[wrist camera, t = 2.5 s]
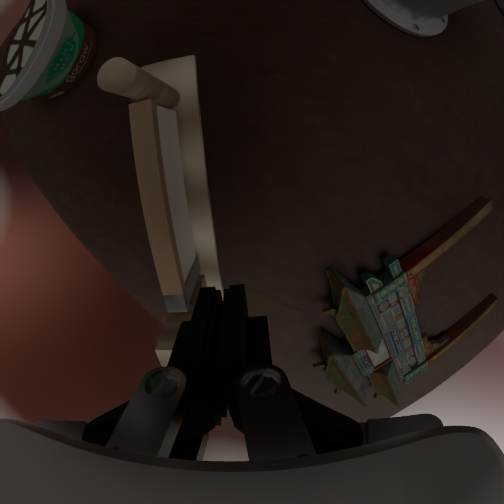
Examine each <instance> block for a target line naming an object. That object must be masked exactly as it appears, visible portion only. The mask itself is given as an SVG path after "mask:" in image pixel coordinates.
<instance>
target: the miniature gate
mask: <svg viewBox="0 0 504 504" xmlns="http://www.w3.org/2000/svg"><path fill="white" fill-rule="evenodd" d="M491 210H492V204H491V200H489V199H486V198H483V197H482V198H481V199H479V200H478V201H477V202H476V203H474V204H473V205H472V206H471V207H469V208H468V209H467V210H465V211H464V212H463V213H462V214H460V215H459V216H458V217H456V218H455V219H454V220H452V221H451V222H450V223H448V224H447V225H446V226H445V227H443V228H442V229H441V230H440V231H438V232H437V233H436V234H435V235H433V236H432V237H431V238H430V239H428V240H427V241H426V242H424V243H423V244H422V245H421V246H419V247H418V248H417V249H415V250H414V251H413V252H411V253H410V254H409V255H407V256H406V257H404V258H403V259H402V260H400V261H398V259H397V258H396V257H394V256H393V255H391V254H390V255H389V256H388V257H386V258H385V259H383V262H384V265H385V267H386V271H385V272H384V273H382V274H381V275H379V276H378V277H376V276H375V275H373V274H371V273H369V272H367V271H366V272H364V273H363V274H361V275H360V276H361V278H362V280H363V282H364V286H365V288H364V289H362V288H361V289H360V290H359V289H358V288H357V287H355V286H354V285H353V284H352V283H350V282H349V281H348V280H347V279H345V278H344V277H343V276H342V275H340V274H339V273H338V272H336V271H335V270H334V269H333V268H331V267H330V266H329V267H328V269H329V270H327V271H326V273H327V276H328V279H329V283H330V286H331V290H332V297H333V306H330V307H327V308H324V309H322V310H323V312H324V314H331V315H333V316H334V317H335V319H336V321H337V322H338V324H339V326H340V327H341V329H342V331H343V333H344V334H345V336H346V338H347V340H348V341H349V343H350V345H351V346H350V347H349V346H347V347H348V348H347V347H346V346H344V345H343V344H342V343H340V342H339V341H338V340H336V339H335V338H334V337H332V336H331V335H330V334H328V333H327V332H326V331H324V330H323V329H322V328H321V327H320V326H319V327H317V328H316V329H317V332H318V336H319V339H320V343H321V347H322V354H323V362H318V363H315V364H313V367H314V369H322V370H323V371H324V372H325V374H326V375H327V376H328V378H329V379H330V380H331V382H332V383H333V384H334V386H335V387H336V389H335V390H334V393H335V395H337V394H338V393H339V392H341V391H344V392H346V393H347V394H349V395H351V396H352V397H353V398H354V399H356V400H357V401H358V402H359V403H360V404H361V405H362V406H363V407H364V406H366V404H365V384H364V378H366V376H368V377H369V379H370V381H371V383H372V385H373V387H374V388H375V390H376V392H375V394H374V395H373V397H374V399H376V398H377V397H378V396H380V395H383V396H384V397H386V398H388V399H389V400H390V401H391V402H392V403H393V404H394V405H395V406H397V408H400V407H401V406H400V382H401V383H402V381H404V383H405V384H408V383H409V382H410V381H411V379H412V377H413V376H414V375H415V374H417V373H418V372H420V373H421V374H422V373H424V372H425V371H426V370H427V366H428V365H429V364H431V363H432V362H433V361H435V360H436V359H437V358H438V357H440V356H441V355H442V354H443V353H445V352H446V351H447V350H448V349H450V348H451V347H452V346H453V345H454V344H456V343H457V342H458V341H459V340H460V339H461V338H462V337H464V336H465V335H466V334H467V333H468V332H469V331H470V330H471V329H472V328H473V327H475V326H476V325H477V324H478V323H479V322H480V321H481V320H482V319H483V318H484V317H485V316H486V315H487V314H488V313H489V312H490V311H491V310H492V309H493V308H494V307H495V306H496V305H497V303H498V298H497V297H496V296H495V295H493V294H492V293H491V294H490V295H489V296H488V297H487V298H486V299H484V300H483V301H482V302H481V303H480V304H479V305H477V306H476V307H475V308H474V309H473V310H472V311H470V312H469V313H468V314H467V315H465V316H464V317H463V318H462V319H461V320H460V321H458V322H457V323H456V324H455V325H454V326H453V327H451V328H450V329H449V330H448V331H447V332H446V333H444V334H443V335H442V336H441V337H439V338H438V339H437V340H431V341H429V340H428V339H427V337H428V335H427V334H426V333H425V332H424V333H422V334H421V331H420V327H419V323H418V319H417V315H416V312H415V307H416V306H417V305H418V304H419V303H420V301H419V300H418V299H417V298H416V296H417V293H418V290H419V287H418V284H419V283H420V282H421V281H422V280H423V278H422V276H423V275H424V274H425V270H424V269H426V268H427V267H428V266H429V265H431V264H432V263H433V262H434V261H436V260H437V259H438V258H439V257H440V256H442V255H443V254H444V253H445V252H446V251H448V250H449V249H450V248H451V247H452V246H454V245H455V244H456V243H457V242H458V241H459V240H460V239H462V238H463V237H464V236H465V235H466V234H467V233H468V232H469V231H470V230H471V229H473V228H474V227H475V226H476V225H477V224H478V223H479V222H480V221H481V220H482V219H483V218H484V217H485V216H486V215H487V214H488V213H489V212H490V211H491Z"/></svg>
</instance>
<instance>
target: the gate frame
mask: <svg viewBox="0 0 504 504" xmlns="http://www.w3.org/2000/svg"><path fill="white" fill-rule="evenodd" d="M97 83H98V86H99V87H100V88H101V89H102V90H104V91H107V92H111V93H114V94H118V95H122V96H125V97H129V98H132V99H135V100H139V101H143V100H147V99H154V100H156V104H157V105H159V106H161V107H164V108H167V109H170V110H173V111H175V112H176V118H177V127H178V137H179V145H180V154H181V162H182V170H183V177H184V184H185V191H186V198H187V205H188V211H189V218H190V224H191V230H192V236H193V242H194V247H195V253H196V257H198V258H199V264H200V269H201V270H200V273H199V276H198V278H197V281H196V284H195V287H194V290H193V293H192V296H191V299H190V302H189V304H190V305H189V308H188V311H187V312H170V314H169V316H168V319H167V321H166V324H165V326H164V329H163V331H162V334H161V336H160V339H159V341H158V344H157V346H156V349H155V351H156V354H157V356H158V358H159V361H160V363H161V365H162V367H164V366H165V367H167V365H168V362H169V359H170V355H171V352H172V349H173V346H174V343H175V339H176V336H177V333H178V330H179V327H180V324H181V322H182V321H191V318H192V314H193V311H194V307H195V304H196V300H197V297H198V294H199V290H200V288H201V287H213V286H215V288H216V290H221V293H222V299H223V296H224V291H223V285H222V278H221V272H220V265H219V259H218V252H217V245H216V238H215V231H214V224H213V217H212V210H211V202H210V194H209V186H208V178H207V170H206V161H205V153H204V144H203V134H202V125H201V115H200V104H199V93H198V82H197V69H196V57H195V56H194V55H190V56H185V57H180V58H175V59H171V60H166V61H162V62H158V63H154V64H150V65H147V66H143V67H142V69H141V68H140V67H138V66H136V65H134V64H133V63H131V62H129V61H127V60H126V59H124V58H121V57H115V58H112V59H110V60H108V61H107V62H105V63H104V64H103V65H102V67H101V68H100V70H99V72H98V75H97Z"/></svg>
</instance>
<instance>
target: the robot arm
mask: <svg viewBox="0 0 504 504" xmlns="http://www.w3.org/2000/svg"><path fill="white" fill-rule="evenodd" d="M363 1H364V2H365V3H366V5H367V6H368V7H369V8H370V9H371V10H373V11H374V12H375V13H376V14H377V15H378V16H379V17H381V18H382V19H384V20H385V21H386V22H388V23H389V24H391V25H392V26H394V27H396V28H397V29H400V30H402V31H404V32H406V33H408V34H412V35H414V36H420V37H432V36H435V35H437V34H439V33H441V32H443V30H444V29H445V28H446V26H447V23H448V14H451V13H453V12H455V11H458V10H460V9H463V8H465V7H468V6H470V5H473V4H475V3H478V2H481V1H484V0H363ZM227 406H228V410H229V413H230V416H231V417H232V420H233V423H234V426H235V428H237V429H238V430H239V431H241V432H242V433H244V437H245V441H246V447H247V451H248V457H249V461H241V462H240V461H235V462H224V461H202V459H203V456H204V452H205V448H206V445H207V442H208V436H209V433H208V432H209V431H210V430H212V429H213V428H215V425H221V417H226V416H227ZM0 504H504V454H503V452H502V451H501V449H500V448H499V446H498V445H497V444H496V442H495V441H494V440H493V439H492V438H491V437H490V436H489V435H488V434H487V433H486V432H484V431H483V430H481V429H479V428H475V427H470V426H443V424H442V421H441V420H440V419H439V418H438V417H436V416H434V415H432V414H418V415H411V416H403V417H393V418H381V419H368V420H367V422H362V423H358V422H356V421H354V420H353V419H351V418H349V417H347V416H345V415H343V414H341V413H339V412H337V411H334V410H332V409H330V408H328V407H326V406H324V405H322V404H320V403H318V402H316V401H314V400H312V399H311V398H309V397H307V396H305V395H303V394H301V393H299V392H297V391H295V390H294V389H292V388H291V386H290V383H289V381H288V378H287V376H286V374H285V373H284V371H283V370H282V369H280V368H279V367H277V366H274V365H272V359H271V350H270V341H269V331H268V322H267V316H257V317H248V311H247V302H246V294H245V286H244V284H239V285H230V287H229V289H225V290H224V296H223V299H222V293H221V290H216V288H215V286H213V287H201V288H200V290H199V294H198V297H197V300H196V304H195V307H194V311H193V314H192V318H191V321H182V322H181V324H180V327H179V330H178V333H177V336H176V339H175V343H174V346H173V349H172V352H171V355H170V359H169V362H168V365H167V367H165V366H164V367H159V368H156V369H153V370H151V371H150V372H148V373H147V374H146V375H145V376H144V378H143V379H142V380H141V382H140V384H139V385H138V388H137V389H136V391H135V393H134V394H133V396H132V398H131V400H129V401H127V402H125V403H124V404H122V405H120V406H118V407H116V408H114V409H112V410H111V411H109V412H107V413H105V414H103V415H101V416H99V417H97V418H95V419H94V420H92V421H91V422H89V423H88V424H87V423H86V422H85V421H68V420H51V419H50V420H49V419H43V420H40V421H38V422H37V423H36V424H35V425H34V424H31V423H28V422H24V421H20V420H13V419H0Z"/></svg>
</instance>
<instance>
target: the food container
mask: <svg viewBox="0 0 504 504" xmlns="http://www.w3.org/2000/svg"><path fill="white" fill-rule="evenodd" d="M96 52H97V36H96V33H95V31H94V30H93V29H92V28H91V27H90V26H89V25H87V24H86V23H85V22H84V21H82V20H81V19H80V18H79V17H77V16H76V15H75V14H74V13H72V12H71V11H70V10H68V9H67V8H66V2H65V0H31V1H30V3H29V6H28V8H27V10H26V12H25V14H24V16H23V18H22V20H21V22H20V23H19V25H18V27H17V28H16V30H15V32H14V34H13V36H12V38H11V40H10V42H9V44H8V46H7V49H6V53H5V57H4V61H3V66H2V70H1V74H0V111H3V110H6V109H8V108H10V107H11V106H13V105H15V104H16V103H17V102H18V101H24V100H32V99H42V98H54V97H59V96H61V95H64V94H66V93H68V92H69V91H70V90H72V89H73V88H74V87H75V86H77V85H78V84H79V82H80V81H81V80H82V79H83V78H84V76H85V75H86V74H87V72H88V70H89V69H90V67H91V65H92V63H93V61H94V58H95V55H96Z"/></svg>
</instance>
